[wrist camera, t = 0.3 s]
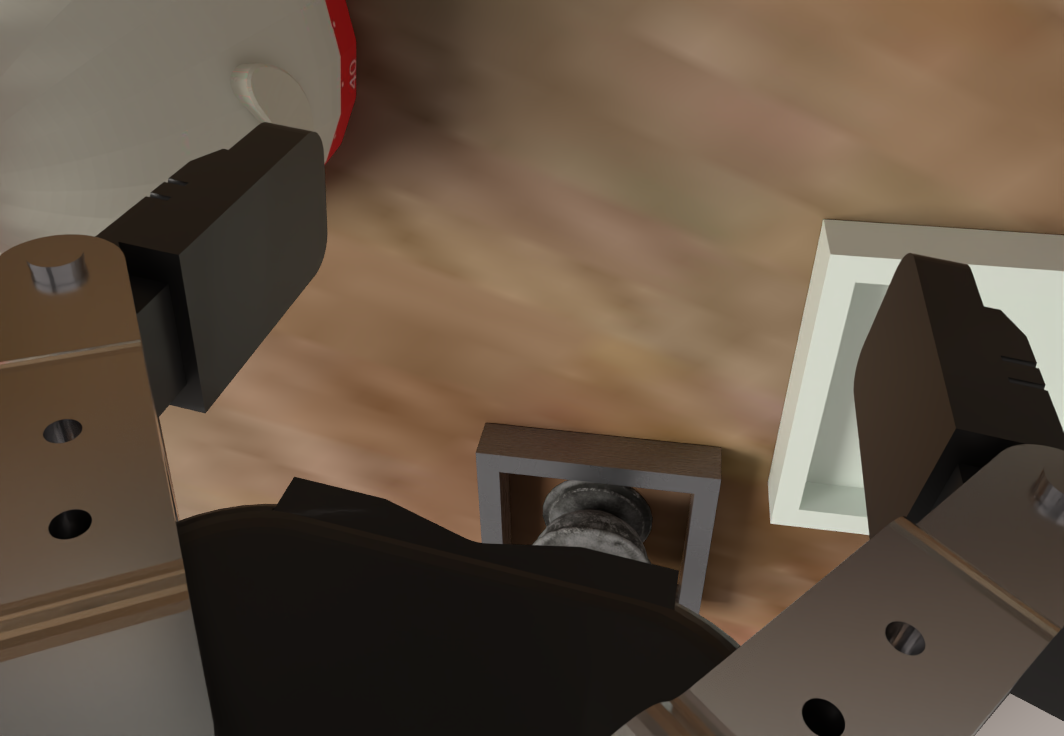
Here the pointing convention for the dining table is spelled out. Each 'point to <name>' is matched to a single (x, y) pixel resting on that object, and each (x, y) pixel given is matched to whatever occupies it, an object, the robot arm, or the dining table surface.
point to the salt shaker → (597, 519)
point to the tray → (843, 325)
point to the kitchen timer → (152, 96)
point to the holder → (603, 481)
